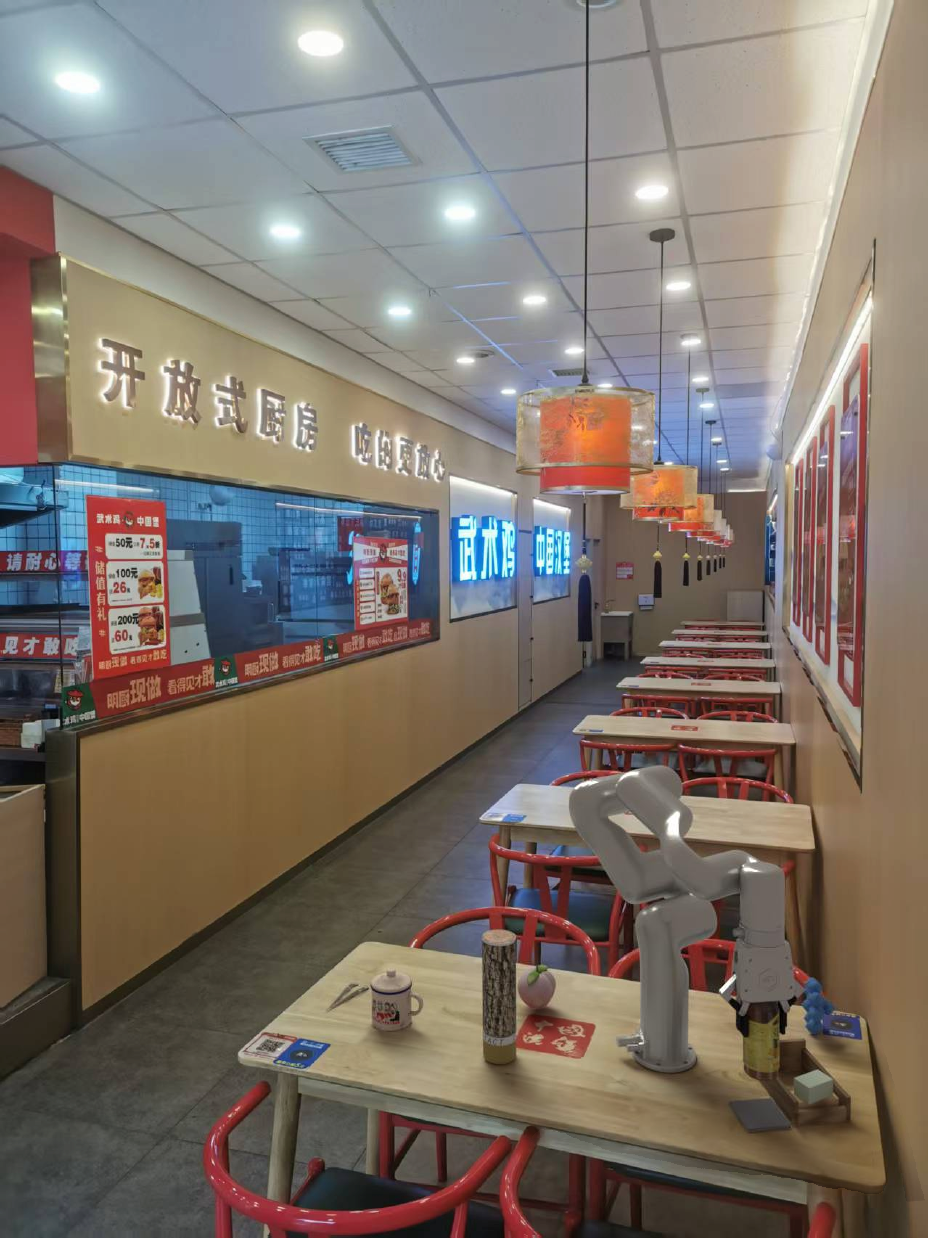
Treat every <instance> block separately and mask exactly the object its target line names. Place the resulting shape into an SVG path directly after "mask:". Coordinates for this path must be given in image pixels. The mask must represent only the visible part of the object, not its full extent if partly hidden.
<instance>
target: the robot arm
mask: <svg viewBox="0 0 928 1238" xmlns="http://www.w3.org/2000/svg"><path fill="white" fill-rule="evenodd" d="M682 782H683V781H682V779H681V777H680V776H679V774H678V773H677V772H676V771H675V770H674V769H673V768H671V767H669V766H666V765H662V764H660V765H653V766H647V767H643V768H642V767H641V768H636V769H632V770H629V771H627V772H622V773H618V774H617V773H616V774H612V775H606V776H599V777H595V778H594V777H593V778H590V779H587V780H584V781H582V782H580V783H578V784H577V785H575V786H574V788H573V789H572V790H571V792H570V794H569V797H568V812H569V816H570V819H571V822H572V825H573V826H574V829H575V830H576V831H577V834H578V835H579V836H580V838H581V839H582V840H583V841H584V843H586V845H587V846H588V847H589V848H590V849H591V850H592V852H593V853H594V855H595V856H596V858H597V859H598V861H599V863H600V864H601V867H602V868H603V870H604V871H605V872H606V875H607V876H608V877H609V880H610V881H611V882H612V885H614V888H615V889H616V891H617V892H618V893H619V895H620V896H621V898H622V899H623V900H625V902H627V903H628V904H632V905H639V904H644V903H648V902H652V901H654V900H658V899H661V898H664V899H662V900H659V901H657V902H653V903H651V904H648V905H646V906H644V908H642V909H641V910H640V911H639V912H638V915H636V918H635V923H634V926H635V927H634V928H635V935H636V940H637V943H638V944H637V946H638V950H639V952H638V953H639V967H640V968H639V976H640V977H639V980H640V981H639V982H640V985H639V986H640V989H639V990H640V991H639V992H640V994H639V995H640V996H639V998H640V999H639V1001H640V1002H639V1004H640V1005H639V1006H640V1008H639V1009H640V1010H639V1011H640V1013H639V1014H640V1015H639V1016H640V1017H639V1018H640V1019H639V1022H640V1023H639V1025H640V1026H639V1028H635V1033H632V1034H631V1036H630V1035H629V1036H626V1035H625V1036H623V1035H621V1036H616V1045H617V1047H618V1048H626V1052H627V1053H632V1055H633V1056H632V1057H633V1058H634V1059H635V1061H637V1063H639V1065H641V1066H643V1067H645V1068H646V1069H650V1070H652V1071H656V1072H659V1073H668V1074H669V1073H671V1074H673V1073H680V1072H684V1071H687V1070H689V1069H691V1068H692V1067H693V1066H694V1065H695V1063H696V1062H697V1052H696V1050H695V1048H694V1047H693V1046H692V1044H691V1043H689V1005H690V1004H689V1002H690V1001H689V994H690V993H689V991H690V990H689V987H690V986H689V983H690V981H689V969H688V966H687V964H686V961H685V960H684V958H683V957H682V953H681V952H682V951H681V950H683V948H686V947H688V946H690V945H694V944H696V943H699V942H702V941H705V940H707V939H709V938H710V937H712V936H713V935H714V934H715V932H716V930H717V927H718V926H717V925H718V917H717V913H716V910H715V908H714V906H713V904H712V902H711V901H716V900H720V899H723V898H725V897H728V896H731V895H739V894H740V895H739V899H740V901H739V902H740V903H739V922H738V927H737V928H733V929H732V936H733V938H734V937H735V938H736V937H738V938H736V940H735V945H734V949H733V955H732V961H731V962H732V963H731V977H730V978H729V979H728V980H727V981H726V982H725V984H724V985H723V986H721V988H719V990H718V994H719V996H720V997H721V998H722V999H723V1000H724V1001H725V1002H727V1004H729V1006H731V1008H733V1009H734V1010H735V1028H736V1029H737V1031H738V1032H739V1033H740V1034H741V1035H742V1037H743V1036H744V1038H746V1037H748V1036H749V1016H748V1015H747V1014H746V1012H747V1009H748V1007H749V1004H750V1003H760V1002H775V1001H777V1004H778V1006H779V1015H780V1019H779V1024H780V1035H781V1036H782V1035H786V1028H788V1013H789V1012H790V1011H791V1007H792V1006H793V1005H794V1004H795V1003H796V1002H797V1000H798V998H800V997H801V995H803V994H804V990H805V987H803V986H802V985H801V984H800V983H799V982H798V980H796V979H795V972H794V964H793V963H794V962H793V957H792V951H791V950H792V949H791V946H790V943H789V941H787V940H786V939H785V930H786V929H785V926H786V923H785V922H786V913H785V911H786V910H785V909H786V877H785V872H784V870H783V869H782V868H781V867H780V866H778V865H776V864H774V863H770V862H767V861H766V862H765V861H762V860H761V859H758V858H757V857H755V856H753V855H751V853H748V852H747V851H744V850H740V849H731V850H727V851H724V852H719V853H717V854H716V853H715V854H712V855H707V856H705V857H701V856H700V855H699V854H698V853H696V852H695V851H694V850H693V849H692V848H691V847H690V846H689V845H688V844H687V843H686V841H684V837H686V835H687V834H688V832H689V831H690V830H691V827H692V825H693V821H694V820H693V819H694V816H693V811H692V809H690V808H689V806H687V805H686V804H685V803H684V802H682V801H681V797H682V795H683V792H684V791H683V789H684V788H683V787H684V786H683V783H682ZM625 813H631V814H632V815H633V816H634V817H635V818H636V820H638V821H639V822H640V823H641V824H642V825H644V827H646V828H647V829H648V830H649V831H650V833H652V834H653V835H654V836H655V837H657V839H659V841H660V842H659V843H660V844H659V845H660V849H657V850H656V849H655V850H653V851H652V850H651V851H648V852H644V851H642V850H641V849H640V848H639V847H638V845H637V844H636V842H635V841H634V839H633V837H632V836H631V835H630V834H629V833H628V831H627V830H625V828H623V827H622V826H620V825H619V824H617V823H616V822H614V821H612V820H611V819H610V818H609V817H611V816H617V815H621V814H625ZM733 992H735V993H737V994H736V997H735V998H734V997H733V996H732V995H731V994H732V993H733Z"/></svg>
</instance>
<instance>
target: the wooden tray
mask: <svg viewBox="0 0 928 1238" xmlns="http://www.w3.org/2000/svg"><path fill="white" fill-rule="evenodd" d="M817 1069H818V1070H819V1071H821V1072H822V1073H824V1074H826V1075H827V1076H829V1077H830V1078H832V1079H833V1093H834V1094H835V1095H836V1096H837V1097H838V1098H839V1106H834V1107H822V1108H810V1109H798V1104H799V1101H798V1100H797V1099H796V1098H795V1096H794V1095H793V1094H792V1093H791V1092H790V1091H791V1090H790V1089H789V1088H788V1086H787V1085H786V1084H785V1083H784V1081H782V1079H781V1078H780V1077H779V1075H778V1076H777V1078H776V1079H774V1080H771V1081H760V1080H758V1081H759V1083H760V1085H762V1087H763V1088H764V1089H765V1091H766V1092H767V1093H768V1095H769V1096H770V1098H771V1099H772V1100H773V1102H774V1103H775V1104H776V1106H777V1107H778V1108H779V1109H780V1111H781V1112H782V1113H783V1115H784V1116H785V1117H786V1119H787V1120H788V1121H789V1123H790V1124H791V1126H792V1127H802V1126H812V1125H813V1126H816V1125H825V1124H837V1123H838V1124H840V1123H847V1122H848V1123H849V1122H851V1117H852V1116H851V1113H852V1112H851V1111H852V1097H851V1095H850V1094H848V1092H847V1091H846V1090H845V1089H844V1088H843V1087H842V1086H841V1084H839V1082H838V1081H837V1080H836V1079H835V1078H834V1077H833V1076H832V1075H831V1074H830V1072H828V1070H827V1069H826V1068H825V1067H824V1066H823V1065H822V1064H821V1062H820V1061H818V1059H817V1058H816V1057H815V1056H814V1055H813V1054H812V1053H811V1052H810V1051H809V1049H807V1040H806V1039H805V1038H791V1039H780V1066H779V1072H778V1073H784V1072H796V1071H797V1072H799V1071H801V1072H803V1075H804V1074H806V1073H809V1072H812V1071H815V1070H817Z"/></svg>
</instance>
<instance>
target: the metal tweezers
mask: <svg viewBox="0 0 928 1238" xmlns="http://www.w3.org/2000/svg"><path fill="white" fill-rule="evenodd" d="M358 985H359V982H351V983H349V984H348V985H347V986H345V988H344V989H343V990H342V992H341V993H339V994H338V996H337V997H336V998H335V1000H334V1001H333V1002H332V1003H331V1004H330V1005H329V1006H328V1007H327V1008H326V1011H325V1014H326V1013H328V1012H330V1011H331V1010H333V1009H334V1008H336V1007H337V1006H339V1005H341V1004H342V1003H344V1002H346V1001H348V1000H349V999H351V998H353V997H355V996H356V995H358V994H360V993H362V992H365V991H367V990H368V989H369V988H370V987H369V986H368V985H367V984H364V986H362V987H359V988H357V989H356V990H354V991H353V992H351V993H349V994H348V995H347V996H345V995H346V994H347V993H348V992H349V991H351V989H352V988H353V987H357V986H358ZM344 996H345V997H344ZM342 997H344V998H342ZM341 998H342V999H341ZM340 999H341V1000H340ZM339 1000H340V1001H339Z"/></svg>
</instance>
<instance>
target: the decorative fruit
mask: <svg viewBox="0 0 928 1238" xmlns="http://www.w3.org/2000/svg"><path fill="white" fill-rule="evenodd" d="M548 969H549V967H548V966H547V965H545V964H539V965H536V967H532V968H528V969H527V970H524V971H523V972H522V974H521V975H520V977H519V978H518V981H517V985H516V989H517V993H518V995H519V998H520V999H521V1001H523V1003H524V1004H525V1005H526V1006H527V1007H529V1008H530V1009H534V1010H541V1009H544V1008H545V1007H546V1006H548V1005H549V1004H550V1002H551V1000H552V998H553V996H554V994H555V991H556V987H557V982H556V979H555V977H554V975H553V974H552V972H551V971H550V970H548Z"/></svg>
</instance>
